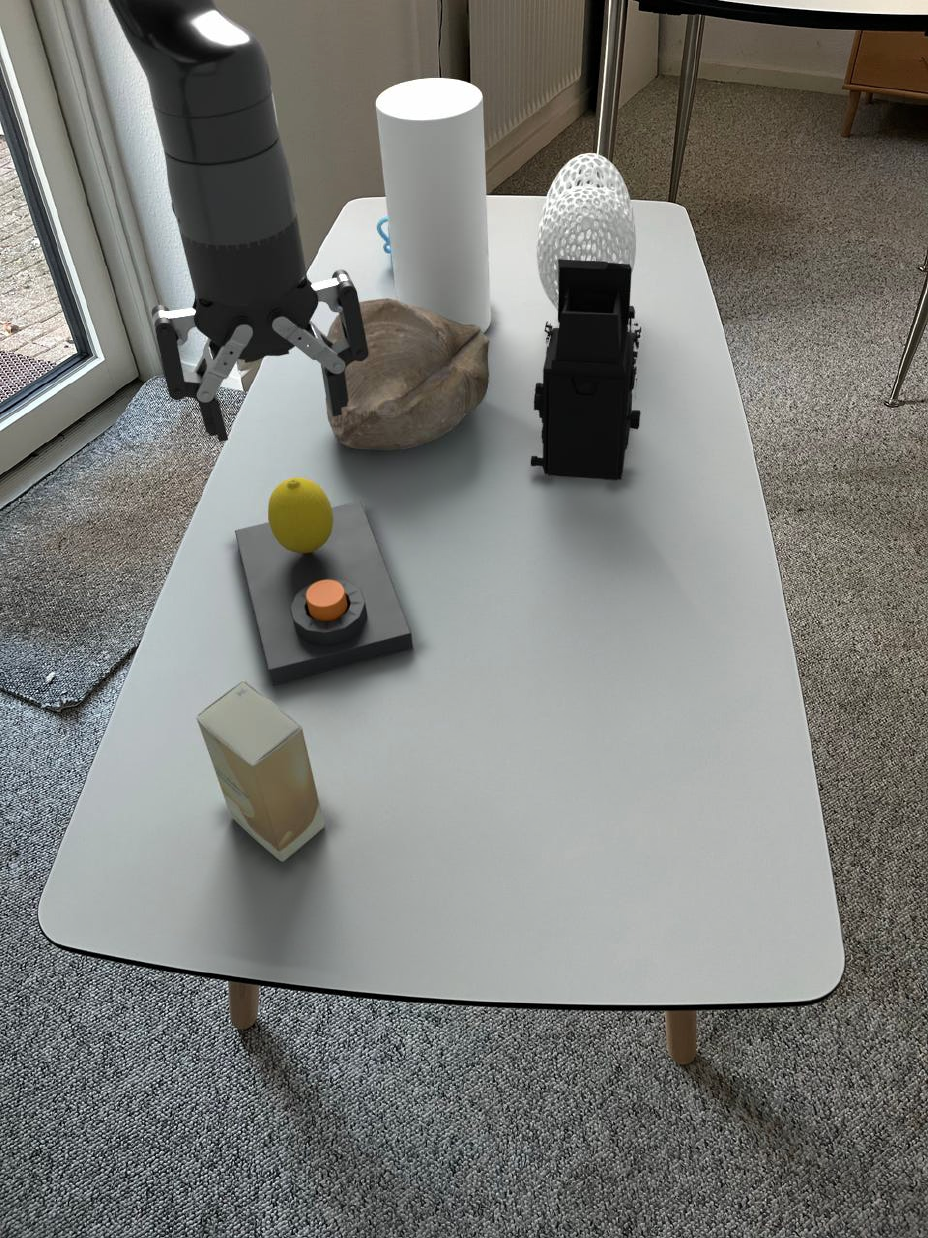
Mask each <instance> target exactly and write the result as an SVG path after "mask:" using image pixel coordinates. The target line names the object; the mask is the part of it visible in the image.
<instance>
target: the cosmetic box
mask: <svg viewBox="0 0 928 1238" xmlns="http://www.w3.org/2000/svg"><path fill="white" fill-rule="evenodd" d="M195 719H196V721H197V724H198V727H199V730H200V732H201V735H202V738H203V740H204V743H205V746H206V749H207V752H208V755H209V758H210V761H211V764H212V767H213V769H214V772H215V775H216V777H217V780H218V783H219V786H220V790H221V793H222V796H223V798H224V801H225V804H226V807H227V810H228V812H229V815H230V817H231V818H232V819H233V820H234V821H235V822H236V823H237V824H238V825H239V826H240V827H241V828H242V829H243V830H245V832H247V834H248V835H249V836H250V837H252V838H253V839H254V840H255V841H256V843H257V842H258V844H260V845H261V846H262V847H263V848H264V849H265V850H266V851H268V853H270V854H271V855H273V857H275V858H276V859H277V860H278V861H280V863H284V862H285V861H286V860H287V859H288V858H290V857H291V856H292V855H293V854H295V853H296V852H297V851H299V849H301V848H302V847H303V846H304V845H305V844H307V843H308V842H309V841H310V840H311V839H312V838H313V837H314V836H316V835H317V834H318V833H319V832H320V831H321V830H322V829H324V827H325V826H326V824H325V820H324V816H323V811H322V806H321V803H320V799H319V795H318V790H317V786H316V781H315V777H314V774H313V773H314V772H313V769H312V764H311V761H310V755H309V752H308V748H307V747H308V746H307V742H306V738H305V734H304V729H303V727H302V725H301V724H300V723H299V722H297V721H296V720H295V719H293V718H292V716H290V715H289V714H287V713H286V712H285V711H284V710H282V709H281V708H280V707H279V706H278V705H277V704H275V703H274V702H273V701H271V699H269V698H267V697H266V696H265V695H264V694H262V693H261V692H260V691H259V690H257V689H256V688H255V687H253V685H251V684H250V683H248V682H247V681H246V680H241V681H240V682H239V683H237V684H236V685H235V686H233V687H232V688H231V689H229V690H228V691H226V692H225V693H224V694H223V695H221V696H220V697H219V698H217V699H216V700H214V701H213V702H211V704H209V705H207V707H205V708H204V709H203V710H202V711H201V712H199V713H198V714H197V715H195Z"/></svg>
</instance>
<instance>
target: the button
mask: <svg viewBox="0 0 928 1238" xmlns="http://www.w3.org/2000/svg"><path fill="white" fill-rule="evenodd" d="M306 600H307V604H308V609H309V612H310V614H311V616H312V617H313V618H315V619H317V620H319V621H332V620H335V619H337V618H339V617H341V616H342V615H343V614H344V613H345V611H346V609H347V601H346V595H345V590H344V587H343V586H342V585H341V584H340V583H339V582H337V581H334V580H321V581H318V582H316V583H314V584H312V585H311V586H310V587H309V588H308V590H307V592H306Z"/></svg>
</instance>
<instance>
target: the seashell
mask: <svg viewBox="0 0 928 1238" xmlns="http://www.w3.org/2000/svg"><path fill="white" fill-rule="evenodd" d="M359 305H360V310H361V315H362V320H363V325H364V331H365V336H366V341H367V346H368V351H369V355H368V357H367V358H366V359H365V360H363V361H356V360H355V361H353V362H352V363H350V364H349V365H348V366H347V367H346V369H345V378H346V385H347V392H348V399H349V401H348V404H347V407H342V408H341V410H342V415H339V416H335V417H333V416H332V414H331V412H330V409H329V407H328V404H327V400H326V399H325V405H326V415H327V420H328V423H329V426H330V428H331V431H332V433H333V435H334V437H335V439H336V441H337V442H338V443H341V444H343V445H345V446H346V447H348V448H351V449H356V450H375V451H378V450H379V451H395V450H405V449H410V448H415V447H419V446H422V445H426V444H427V443H430V442H433V441H435V440H437V439H438V438H441V437H442V436H444V435H446V434H447V433H449V432H450V431H451V430H452V429H454V428H455V427H456V426H457V425H458V424H459V423H460V422H461V421H462V420H463V419H464V418H465V416H466V415H468V414H469V413H472V412H473V411H474V410H475V409H476V408H478V407H479V406H481V404H482V402H483V401H484V399H485V398H486V395H487V393H488V390H489V386H490V385H489V384H490V369H489V347H490V339H489V338H488V337H486V335H485V334H484V333H483V332H482V331H481V330H480V327H479V326H476V325H473V324H469V325H464V324H460V323H457V322H454V321H451V320H449V319H446V318H444V317H442V316H439V315H437V314H436V313H433V312H431V311H429V310H426V309H423V308H418V307H412V306H409V305H407V304H404V303H402V302H400V301H397V299H394V298H389V297H387V298H385V297H384V298H378V299H377V298H376V299H370V300H363V301H359ZM327 337H328V338H329V339H330V340H331V341H333V342H334V343H335V342H337V341H339V340H341V339H342V338H344V334H343V330H342V325H341V320H340V315H339V314H337V315H336V317H335V319H334V320H333V321H332V323H331V325H330V326H329V328H328V333H327Z"/></svg>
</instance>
